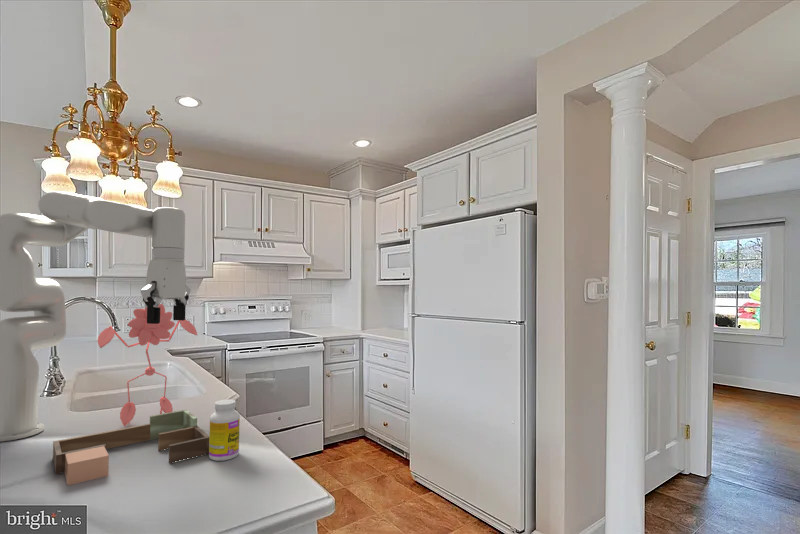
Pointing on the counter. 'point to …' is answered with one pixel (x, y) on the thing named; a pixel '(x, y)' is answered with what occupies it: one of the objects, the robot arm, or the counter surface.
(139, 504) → the counter surface
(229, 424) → the supplement bottle
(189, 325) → the figurine
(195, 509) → the counter surface
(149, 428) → the box
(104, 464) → the terracotta block
